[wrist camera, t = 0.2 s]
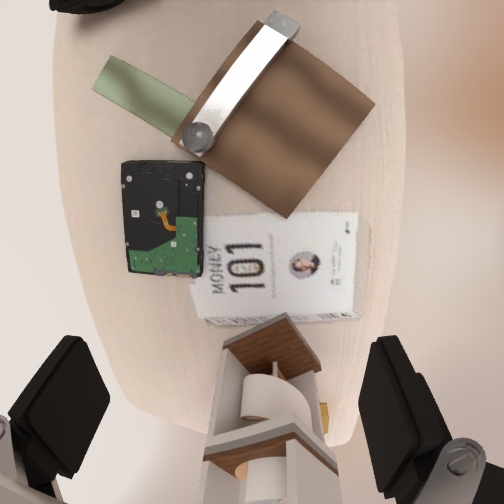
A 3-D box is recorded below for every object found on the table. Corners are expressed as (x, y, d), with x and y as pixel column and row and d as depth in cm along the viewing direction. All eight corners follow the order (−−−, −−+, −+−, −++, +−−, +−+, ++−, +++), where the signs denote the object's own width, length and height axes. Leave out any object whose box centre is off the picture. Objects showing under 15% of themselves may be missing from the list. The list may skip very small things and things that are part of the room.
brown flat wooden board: (166, -18, 27) (160, -25, 24) (368, 105, 32) (375, 104, 30) (93, 89, 33) (83, 87, 30) (285, 213, 38) (286, 219, 36)
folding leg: (207, 156, 33) (201, 159, 30) (183, 140, 32) (176, 142, 30) (298, 34, 27) (301, 26, 24) (273, 18, 27) (274, 10, 24)
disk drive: (128, 160, 37) (134, 265, 43) (118, 162, 34) (127, 274, 40) (206, 159, 37) (205, 270, 42) (201, 162, 34) (201, 280, 40)
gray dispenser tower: (320, 361, 47) (349, 578, 15) (263, 385, 50) (255, 587, 18) (285, 312, 44) (299, 577, 12) (224, 341, 47) (183, 575, 14)
